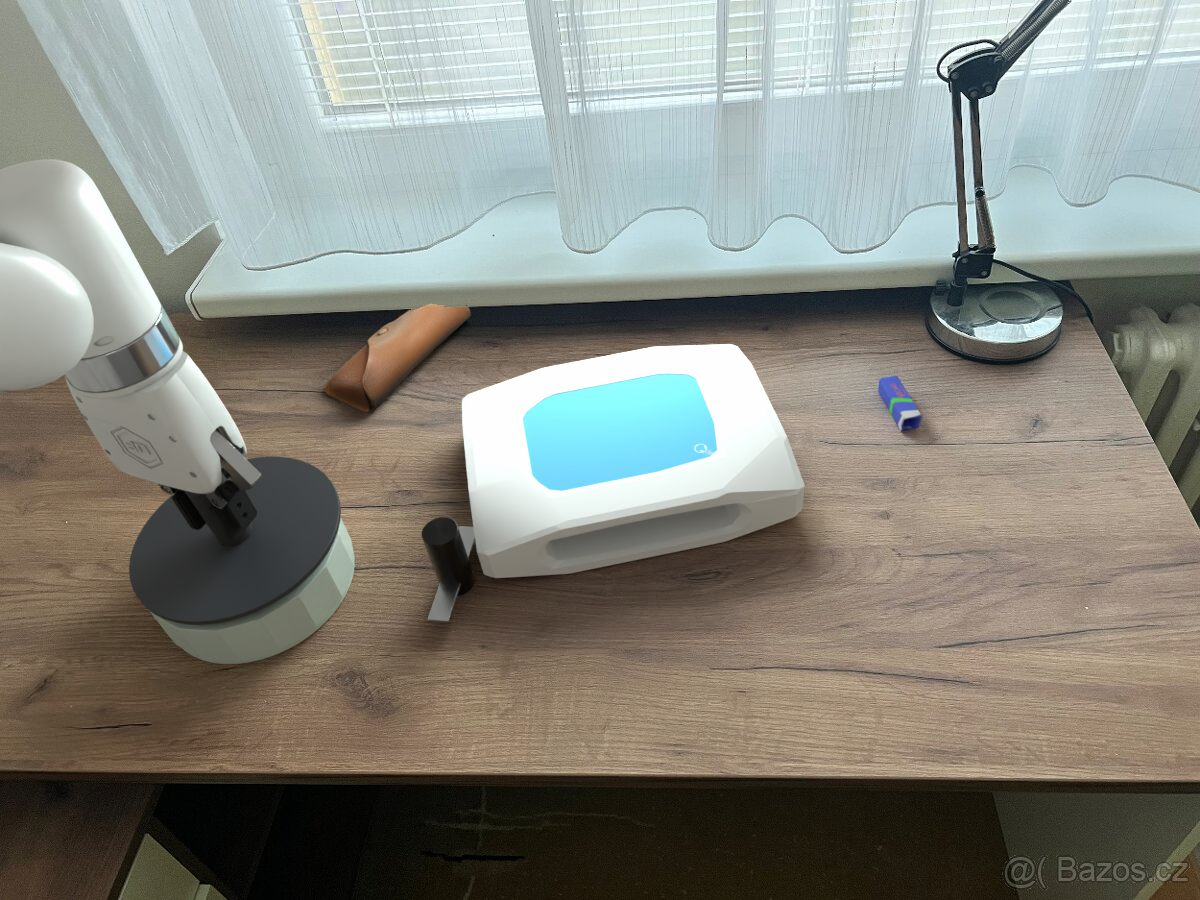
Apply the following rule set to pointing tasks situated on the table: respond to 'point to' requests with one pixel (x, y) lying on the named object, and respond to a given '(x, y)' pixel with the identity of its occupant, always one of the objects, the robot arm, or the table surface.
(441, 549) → the blade
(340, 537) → the bowl
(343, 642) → the table surface
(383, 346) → the sunglasses case
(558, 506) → the document scanner
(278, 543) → the lid
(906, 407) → the eraser
